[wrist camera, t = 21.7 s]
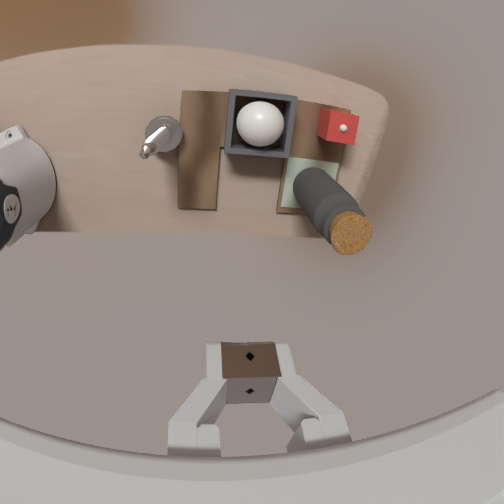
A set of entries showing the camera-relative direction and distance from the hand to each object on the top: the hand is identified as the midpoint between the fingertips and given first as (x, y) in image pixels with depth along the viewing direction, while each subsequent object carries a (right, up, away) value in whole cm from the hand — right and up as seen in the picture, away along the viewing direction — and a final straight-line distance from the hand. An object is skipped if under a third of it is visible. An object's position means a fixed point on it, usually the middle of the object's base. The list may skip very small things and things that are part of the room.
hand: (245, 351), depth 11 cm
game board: (+2, +17, +29) cm, 34 cm away
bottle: (+9, +14, +31) cm, 35 cm away
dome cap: (+1, +22, +26) cm, 34 cm away
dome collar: (+1, +21, +26) cm, 33 cm away
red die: (+11, +22, +27) cm, 36 cm away
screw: (-11, +20, +26) cm, 34 cm away
